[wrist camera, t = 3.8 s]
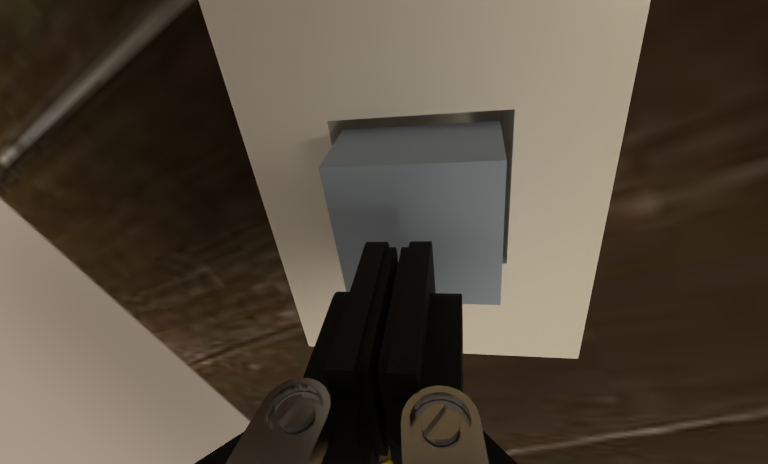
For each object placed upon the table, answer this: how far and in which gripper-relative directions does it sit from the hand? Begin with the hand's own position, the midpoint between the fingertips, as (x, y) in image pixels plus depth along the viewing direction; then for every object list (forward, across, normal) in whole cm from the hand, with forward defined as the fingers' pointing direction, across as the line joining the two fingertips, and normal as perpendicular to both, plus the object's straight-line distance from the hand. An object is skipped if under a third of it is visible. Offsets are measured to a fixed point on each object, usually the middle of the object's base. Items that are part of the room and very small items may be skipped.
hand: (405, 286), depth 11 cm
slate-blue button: (+5, 0, 0) cm, 5 cm away
